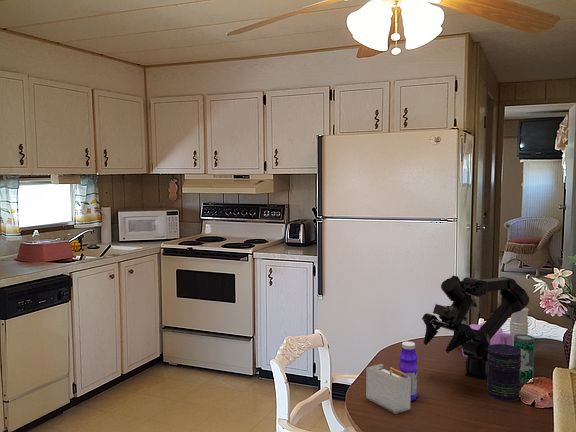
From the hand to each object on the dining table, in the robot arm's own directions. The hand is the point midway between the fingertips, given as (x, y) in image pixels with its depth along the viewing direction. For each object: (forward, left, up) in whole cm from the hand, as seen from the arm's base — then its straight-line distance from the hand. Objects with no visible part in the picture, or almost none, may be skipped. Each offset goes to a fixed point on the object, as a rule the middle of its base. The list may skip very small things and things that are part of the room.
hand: (435, 348), depth 175 cm
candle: (-10, -61, -14) cm, 64 cm away
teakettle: (-2, -40, -14) cm, 43 cm away
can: (-21, -24, -14) cm, 35 cm away
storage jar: (-19, -8, -14) cm, 25 cm away
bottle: (+4, +11, -14) cm, 18 cm away
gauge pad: (+6, +18, -13) cm, 23 cm away
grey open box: (+7, +19, -14) cm, 25 cm away
